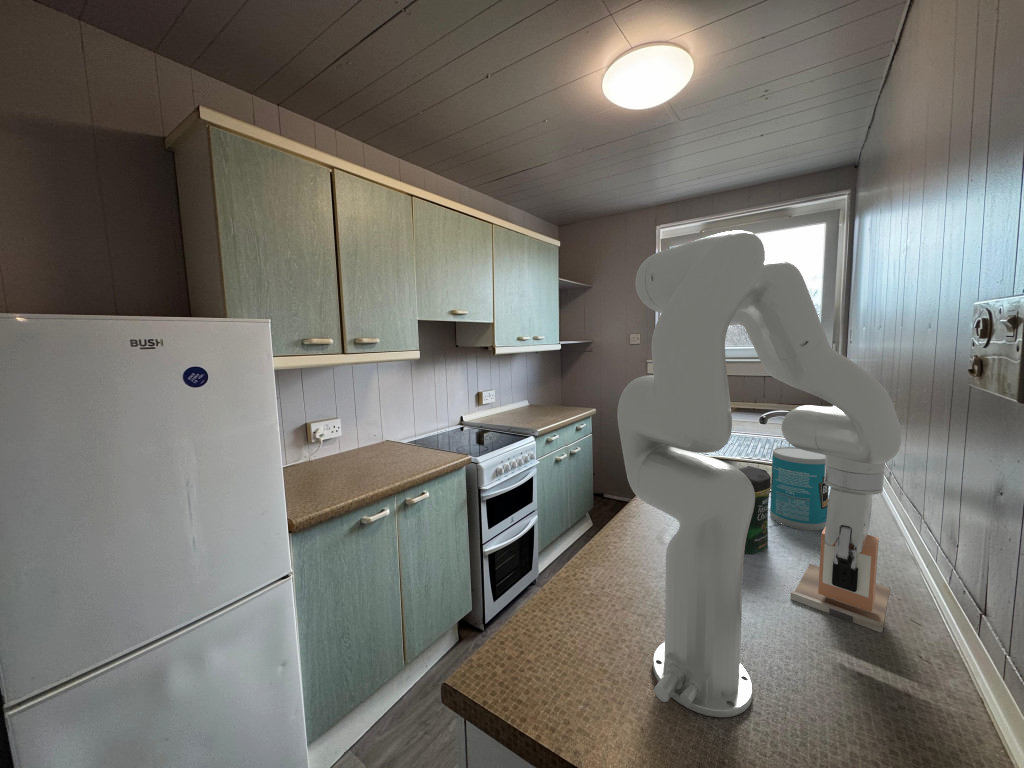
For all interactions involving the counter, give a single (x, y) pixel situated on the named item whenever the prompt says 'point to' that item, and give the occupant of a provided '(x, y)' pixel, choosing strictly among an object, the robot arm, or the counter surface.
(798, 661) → the counter surface
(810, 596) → the shelf board
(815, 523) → the food can
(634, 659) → the counter surface
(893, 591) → the counter surface
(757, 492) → the coffee jar
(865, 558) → the salmon upright cuboid
